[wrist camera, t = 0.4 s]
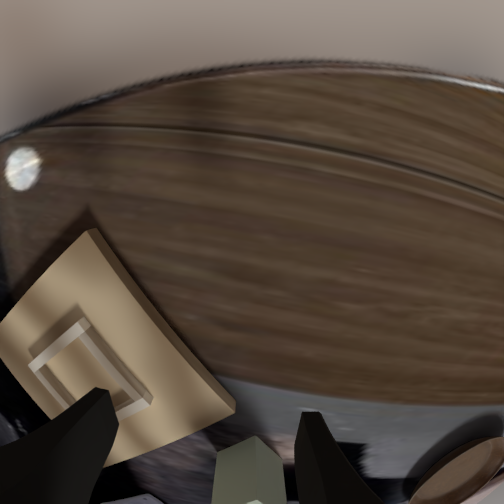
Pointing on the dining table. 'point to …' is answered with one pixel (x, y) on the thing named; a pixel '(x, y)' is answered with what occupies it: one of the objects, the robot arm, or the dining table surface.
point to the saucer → (460, 472)
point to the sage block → (248, 475)
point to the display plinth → (108, 352)
